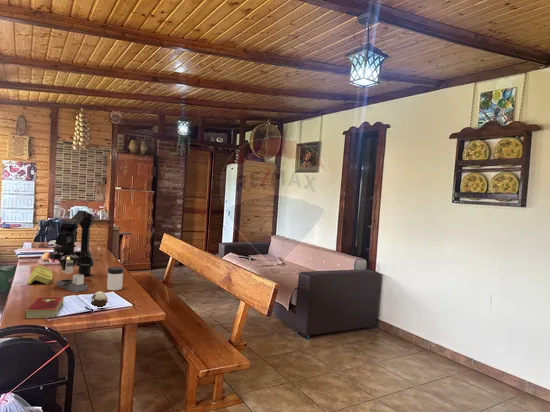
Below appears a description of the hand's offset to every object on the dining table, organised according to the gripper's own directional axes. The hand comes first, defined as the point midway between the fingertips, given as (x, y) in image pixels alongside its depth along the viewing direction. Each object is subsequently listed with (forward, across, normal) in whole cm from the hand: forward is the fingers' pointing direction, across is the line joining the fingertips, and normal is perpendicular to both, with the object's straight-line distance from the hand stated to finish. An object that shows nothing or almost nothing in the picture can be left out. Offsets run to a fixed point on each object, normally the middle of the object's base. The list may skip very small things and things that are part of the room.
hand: (67, 270), depth 223 cm
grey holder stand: (+9, 0, +6) cm, 11 cm away
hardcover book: (+10, +30, +33) cm, 45 cm away
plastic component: (+10, +4, -20) cm, 22 cm away
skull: (+10, +10, +44) cm, 46 cm away
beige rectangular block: (+1, 0, 0) cm, 1 cm away
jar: (+10, -16, +22) cm, 28 cm away
